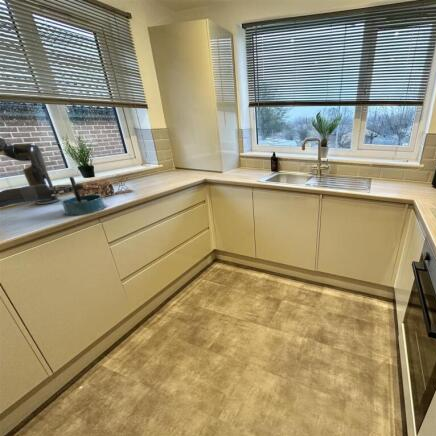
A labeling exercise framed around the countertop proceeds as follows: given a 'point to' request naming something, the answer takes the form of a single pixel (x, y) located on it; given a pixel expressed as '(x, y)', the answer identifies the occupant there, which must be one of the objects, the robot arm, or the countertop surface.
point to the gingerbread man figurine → (121, 185)
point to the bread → (96, 188)
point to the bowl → (83, 205)
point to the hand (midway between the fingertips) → (82, 186)
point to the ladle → (76, 192)
